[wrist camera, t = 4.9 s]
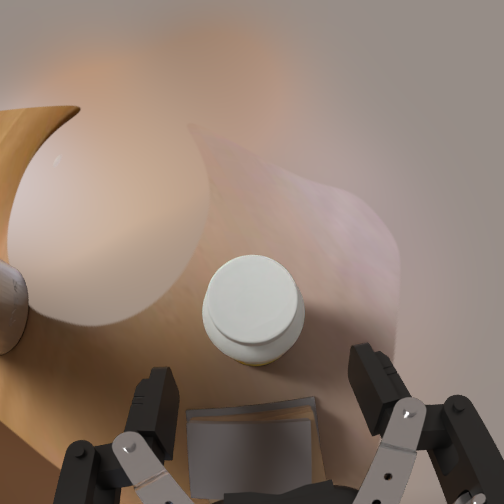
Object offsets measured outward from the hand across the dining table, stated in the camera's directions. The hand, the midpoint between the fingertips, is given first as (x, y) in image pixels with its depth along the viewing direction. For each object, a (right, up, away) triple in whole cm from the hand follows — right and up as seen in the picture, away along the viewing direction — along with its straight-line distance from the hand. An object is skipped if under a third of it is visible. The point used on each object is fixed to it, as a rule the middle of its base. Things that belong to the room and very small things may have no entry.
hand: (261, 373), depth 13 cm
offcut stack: (0, -9, +6) cm, 10 cm away
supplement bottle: (0, 0, +9) cm, 9 cm away
